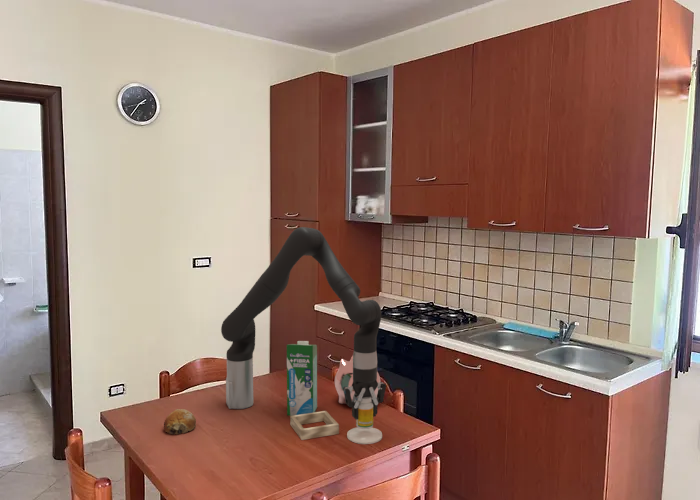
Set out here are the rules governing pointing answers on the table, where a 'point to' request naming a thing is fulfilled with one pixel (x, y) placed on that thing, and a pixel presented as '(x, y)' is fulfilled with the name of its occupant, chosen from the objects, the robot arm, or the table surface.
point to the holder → (317, 431)
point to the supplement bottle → (365, 413)
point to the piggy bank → (347, 379)
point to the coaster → (364, 435)
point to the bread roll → (179, 422)
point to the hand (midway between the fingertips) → (364, 417)
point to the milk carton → (301, 378)
